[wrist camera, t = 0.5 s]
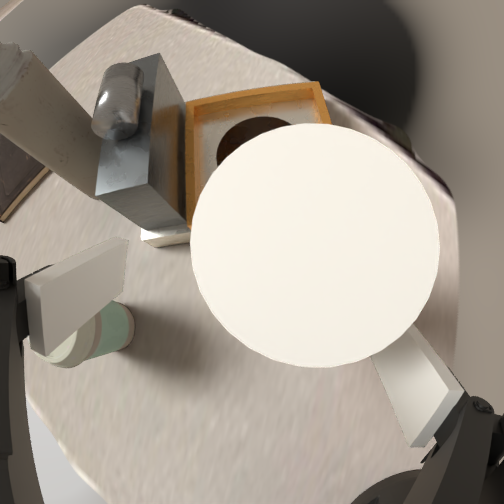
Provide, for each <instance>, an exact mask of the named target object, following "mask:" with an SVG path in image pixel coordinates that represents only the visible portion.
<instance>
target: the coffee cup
mask: <svg viewBox="0 0 504 504" xmlns="http://www.w3.org/2000/svg"><path fill="white" fill-rule="evenodd" d="M134 332H135V323H134V319H133V316H132V314H131V312H130V311H129V309H128V308H127V307H125V306H124V305H122V304H120V303H118V302H115V301H113V300H112V301H111V302H110V303H108V304H107V305H106V306H105V307H104V308H102V309H101V310H100V311H99V312H98V313H96V314H95V315H94V316H93V317H92V318H91V319H89V320H88V321H87V322H86V323H85V324H84V325H82V326H81V327H80V328H79V329H78V330H77V331H75V332H74V333H73V334H72V335H71V336H70V337H68V338H67V339H66V340H65V341H64V342H63V343H62V344H60V345H59V346H58V347H57V348H56V349H55V350H54V351H53V352H51V353H50V354H49V355H48V356H47V357H44V356H43V355H41V354H39V353H37V352H35V351H34V350H33V351H34V352H35V353H36V355H37V356H38V357H39V358H41V359H42V360H44V361H46V362H48V363H50V364H52V365H54V366H57V367H62V368H72V367H75V366H77V365H79V364H80V363H82V362H83V361H85V360H88V359H91V358H95V357H98V356H101V355H105V354H108V353H111V352H114V351H117V350H120V349H123V348H125V347H126V346H128V345H129V343H130V342H131V340H132V339H133V336H134ZM27 338H28V341H29V344H30V339H29V336H28V337H27Z"/></svg>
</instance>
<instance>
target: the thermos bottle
mask: <svg viewBox="0 0 504 504" xmlns="http://www.w3.org/2000/svg"><path fill="white" fill-rule="evenodd" d="M91 123H92V118H91V116H90V115H89V114H88V113H87V112H86V111H85V110H84V109H83V108H82V107H81V105H80V104H79V103H78V102H77V101H76V100H75V99H74V98H73V97H72V96H71V94H70V93H69V92H68V91H67V90H66V89H65V88H64V87H63V86H62V85H61V83H60V82H59V81H58V80H57V79H56V78H55V77H54V76H53V75H52V74H51V72H50V71H49V70H48V69H47V68H46V67H45V66H44V65H43V63H42V62H41V61H40V60H39V59H38V58H37V57H36V56H35V54H34V53H33V52H32V51H31V50H24V51H21V50H20V49H19V45H18V44H15V43H14V42H9V43H6V44H2V43H1V42H0V133H1V134H2V135H4V136H5V137H6V138H8V139H9V140H10V141H12V142H13V143H14V144H16V145H17V146H18V147H20V148H21V149H23V150H24V151H25V152H27V153H28V154H29V155H31V156H32V157H34V158H35V159H36V160H38V161H39V162H40V163H42V164H43V165H45V166H46V167H47V168H49V169H50V170H52V171H53V172H55V173H56V174H57V175H59V176H60V177H62V178H63V179H64V180H66V181H67V182H69V183H70V184H72V185H73V186H75V187H76V188H77V189H79V190H80V191H82V192H83V193H85V194H86V195H88V196H89V197H91V198H93V199H99V198H97V197H96V196H95V193H96V183H97V174H98V166H99V159H100V152H101V145H102V139H103V138H101V137H99V136H98V135H96V134H95V133H94V132H93V130H92V128H91Z"/></svg>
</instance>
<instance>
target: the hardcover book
mask: <svg viewBox="0 0 504 504" xmlns="http://www.w3.org/2000/svg"><path fill="white" fill-rule="evenodd" d="M49 170H50V169H49V168H47V167H46V166H45V165H43V164H42V163H40V162H39V161H38V160H36V159H35V158H34V157H32V156H31V155H29V154H28V153H27V152H25V151H24V150H23V149H21V148H20V147H18V146H17V145H16V144H14V143H13V142H12V141H10V140H9V139H8V138H6V137H5V136H4V135H2V134H1V133H0V222H3V223H4V220H5V219H6V218H7V217H8V215H9V214H10V213H11V212H12V211H13V209H14V208H15V207H16V206H17V205H18V204H19V202H20V201H21V200H22V199H23V198H24V197H25V196H26V194H27V193H28V192H29V191H30V190H31V189H32V188H33V187H34V186H35V185H36V183H37V182H38V181H39V180H40V179H41V178H42V177H43V176H44V175H45V174H46V173H47V172H48V171H49Z"/></svg>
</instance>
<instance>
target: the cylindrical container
mask: <svg viewBox="0 0 504 504" xmlns="http://www.w3.org/2000/svg"><path fill="white" fill-rule="evenodd" d="M190 248H191V257H192V266H193V271H194V274H195V277H196V280H197V283H198V286H199V289H200V292H201V294H202V296H203V298H204V299H205V301H206V303H207V305H208V306H209V308H210V310H211V312H212V313H213V314H214V316H215V317H216V318H217V319H218V320H219V322H220V323H221V324H222V325H223V326H224V327H225V329H226V330H227V331H228V332H229V333H230V334H232V335H233V336H234V337H236V338H237V339H238V340H239V341H241V342H242V343H243V344H244V345H246V346H247V347H248V348H250V349H252V350H254V351H256V352H258V353H260V354H262V355H264V356H266V357H268V358H270V359H272V360H275V361H279V362H283V363H287V364H291V365H296V366H300V367H334V366H339V365H344V364H349V363H353V362H357V361H360V360H362V359H364V358H366V357H369V356H371V355H373V354H375V353H377V352H379V351H381V350H383V349H384V348H386V347H387V346H388V345H390V344H391V343H392V342H394V341H395V340H396V339H398V338H399V337H400V336H401V335H402V334H403V333H404V332H405V331H406V330H407V329H408V328H409V327H410V326H411V324H412V323H413V322H414V321H415V320H416V319H417V317H418V316H419V314H420V312H421V311H422V309H423V307H424V305H425V304H426V302H427V300H428V299H429V296H430V294H431V291H432V288H433V285H434V282H435V279H436V275H437V271H438V262H439V252H440V244H439V233H438V224H437V220H436V217H435V214H434V211H433V207H432V204H431V201H430V199H429V197H428V195H427V193H426V191H425V190H424V188H423V186H422V184H421V182H420V180H419V179H418V178H417V176H416V175H415V174H414V173H413V171H412V170H411V169H410V168H409V166H408V165H407V164H406V163H405V162H404V161H403V160H402V159H401V158H400V157H399V156H397V155H396V154H395V153H394V152H393V151H392V150H391V149H389V148H388V147H386V146H385V145H383V144H381V143H380V142H378V141H377V140H375V139H373V138H372V137H369V136H367V135H365V134H362V133H360V132H357V131H355V130H352V129H349V128H345V127H340V126H335V125H330V124H311V123H303V124H297V125H290V126H284V127H280V128H277V129H274V130H271V131H268V132H266V133H263V134H260V135H258V136H257V137H255V138H253V139H251V140H249V141H248V142H246V143H244V144H242V145H241V146H240V147H239V148H237V149H236V150H235V151H234V152H233V153H231V154H230V155H229V156H228V157H226V159H225V160H224V161H223V162H222V163H221V164H220V165H219V167H218V168H217V169H216V170H215V171H214V172H213V174H212V175H211V177H210V178H209V180H208V182H207V184H206V185H205V187H204V189H203V191H202V193H201V194H200V197H199V200H198V203H197V206H196V209H195V212H194V215H193V219H192V229H191V238H190Z"/></svg>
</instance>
